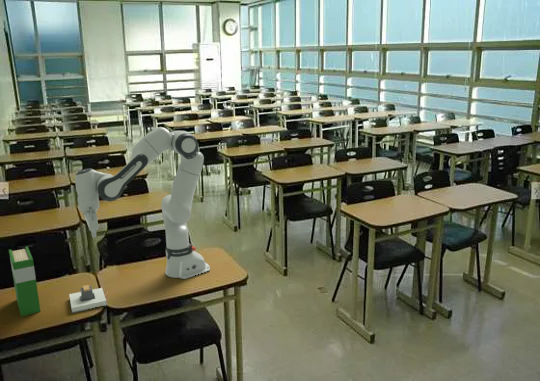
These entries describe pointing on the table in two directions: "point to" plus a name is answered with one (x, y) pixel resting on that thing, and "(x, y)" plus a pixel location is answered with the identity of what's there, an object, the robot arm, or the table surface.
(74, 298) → the socket plate
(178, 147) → the robot arm
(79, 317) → the table surface
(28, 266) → the hardback book
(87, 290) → the plug
